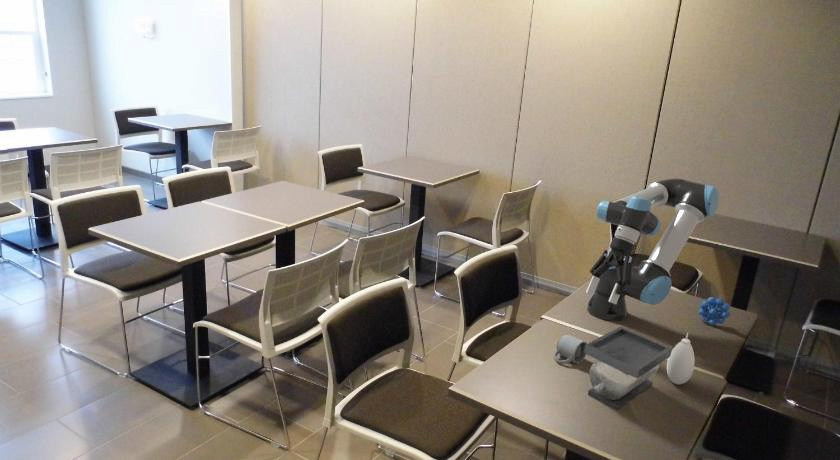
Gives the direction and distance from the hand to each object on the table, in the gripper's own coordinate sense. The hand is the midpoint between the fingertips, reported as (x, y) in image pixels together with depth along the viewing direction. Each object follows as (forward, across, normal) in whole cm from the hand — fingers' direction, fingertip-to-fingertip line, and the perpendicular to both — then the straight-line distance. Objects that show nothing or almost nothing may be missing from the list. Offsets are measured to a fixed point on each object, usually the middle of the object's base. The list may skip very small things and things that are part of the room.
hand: (600, 298), depth 205 cm
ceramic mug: (+23, 0, -3) cm, 23 cm away
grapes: (-8, -14, +62) cm, 64 cm away
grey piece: (+24, +20, +5) cm, 32 cm away
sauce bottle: (+16, +20, +25) cm, 35 cm away
